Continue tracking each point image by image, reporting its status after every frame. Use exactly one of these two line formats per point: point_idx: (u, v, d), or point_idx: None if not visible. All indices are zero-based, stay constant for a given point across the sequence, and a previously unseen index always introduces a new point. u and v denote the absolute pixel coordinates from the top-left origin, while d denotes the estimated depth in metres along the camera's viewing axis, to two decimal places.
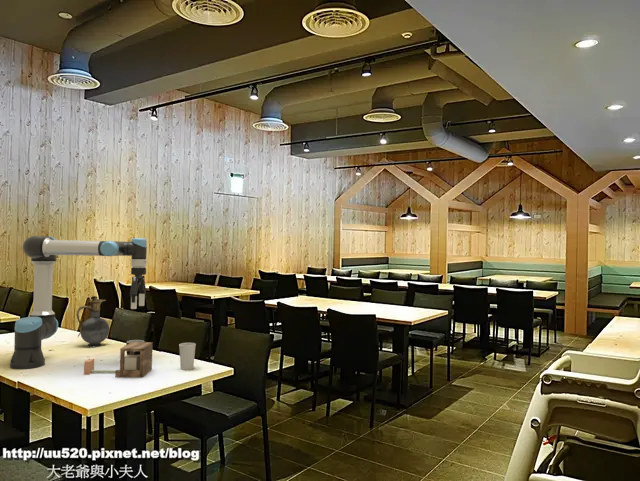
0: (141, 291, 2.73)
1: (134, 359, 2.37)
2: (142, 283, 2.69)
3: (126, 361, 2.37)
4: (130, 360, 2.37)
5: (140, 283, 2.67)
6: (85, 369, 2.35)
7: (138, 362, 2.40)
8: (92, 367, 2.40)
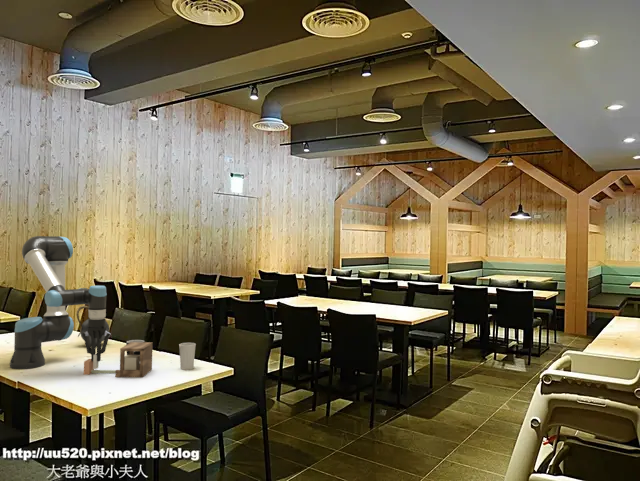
0: None
1: (134, 359, 2.37)
2: (96, 337, 2.38)
3: (126, 361, 2.37)
4: (130, 360, 2.37)
5: (95, 336, 2.38)
6: (85, 369, 2.35)
7: (138, 362, 2.40)
8: (92, 367, 2.40)
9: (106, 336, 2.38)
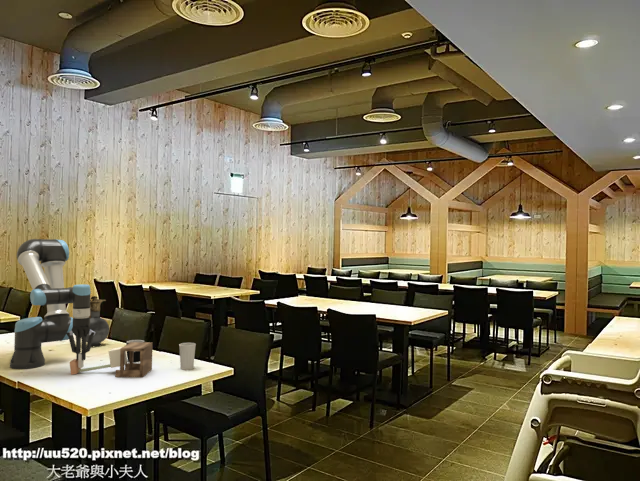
0: None
1: (119, 351, 2.38)
2: (81, 336, 2.37)
3: (112, 354, 2.37)
4: (116, 352, 2.37)
5: (80, 335, 2.37)
6: (72, 369, 2.35)
7: None
8: None
9: (91, 335, 2.38)
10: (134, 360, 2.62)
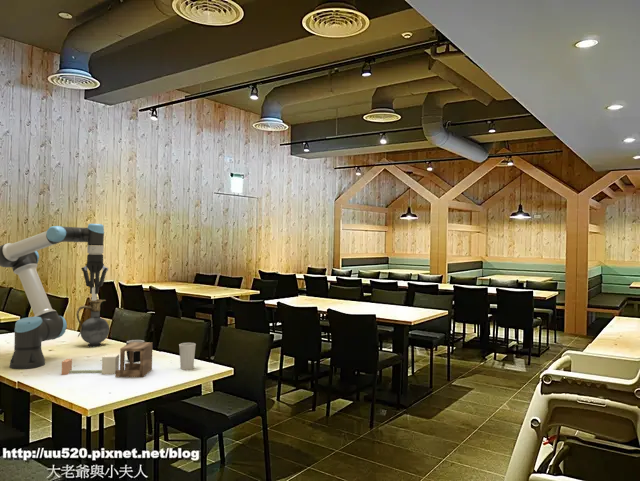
0: None
1: (113, 358, 2.37)
2: (95, 271, 2.55)
3: (105, 361, 2.37)
4: (109, 359, 2.37)
5: (94, 271, 2.56)
6: (63, 369, 2.34)
7: (117, 361, 2.41)
8: (70, 367, 2.39)
9: (104, 270, 2.56)
10: (134, 360, 2.62)
